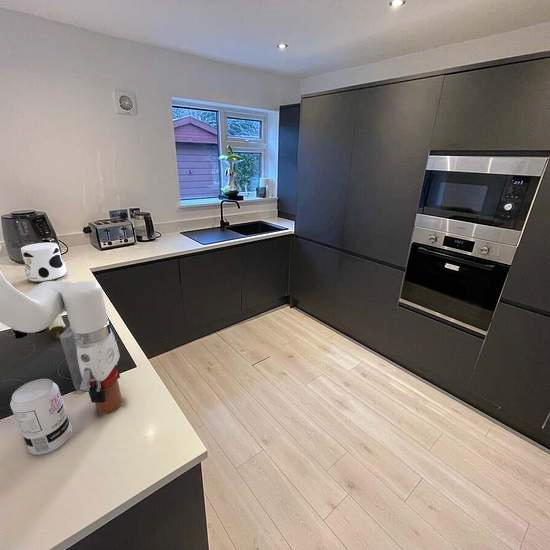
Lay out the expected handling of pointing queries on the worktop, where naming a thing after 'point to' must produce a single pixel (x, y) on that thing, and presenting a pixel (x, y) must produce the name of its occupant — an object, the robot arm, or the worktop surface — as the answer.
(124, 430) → the worktop surface
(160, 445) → the worktop surface
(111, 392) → the jam jar
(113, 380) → the jam lid
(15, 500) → the worktop surface
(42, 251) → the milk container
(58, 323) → the rolling pin
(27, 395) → the supplement can
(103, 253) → the worktop surface
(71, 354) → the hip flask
